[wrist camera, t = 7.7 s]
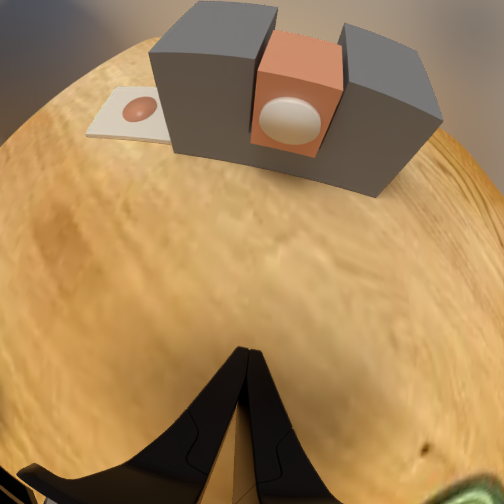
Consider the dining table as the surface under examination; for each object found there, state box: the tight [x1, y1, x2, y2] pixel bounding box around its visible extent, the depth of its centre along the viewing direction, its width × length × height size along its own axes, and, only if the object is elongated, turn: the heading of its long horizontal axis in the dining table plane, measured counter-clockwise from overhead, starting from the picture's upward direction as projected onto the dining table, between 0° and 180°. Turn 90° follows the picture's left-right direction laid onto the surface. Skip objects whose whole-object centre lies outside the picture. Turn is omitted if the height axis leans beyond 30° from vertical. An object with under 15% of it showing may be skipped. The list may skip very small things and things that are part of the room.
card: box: [85, 87, 172, 145], centre depth 26 cm, size 8×11×1 cm
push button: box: [250, 30, 343, 158], centre depth 18 cm, size 7×5×7 cm
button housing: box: [148, 1, 443, 198], centre depth 21 cm, size 10×20×12 cm, turn 78°
